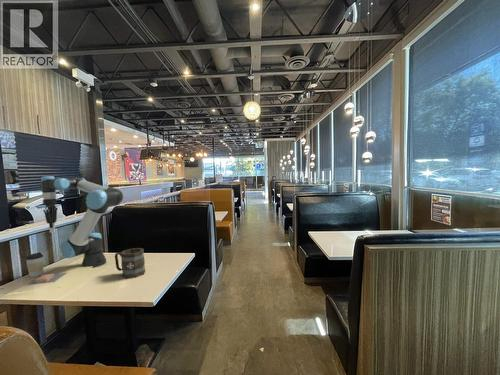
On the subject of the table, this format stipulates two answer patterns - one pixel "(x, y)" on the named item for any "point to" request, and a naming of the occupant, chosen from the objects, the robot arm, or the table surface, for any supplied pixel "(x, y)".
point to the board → (56, 277)
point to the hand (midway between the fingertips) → (52, 232)
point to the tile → (44, 278)
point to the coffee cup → (35, 264)
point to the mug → (131, 262)
